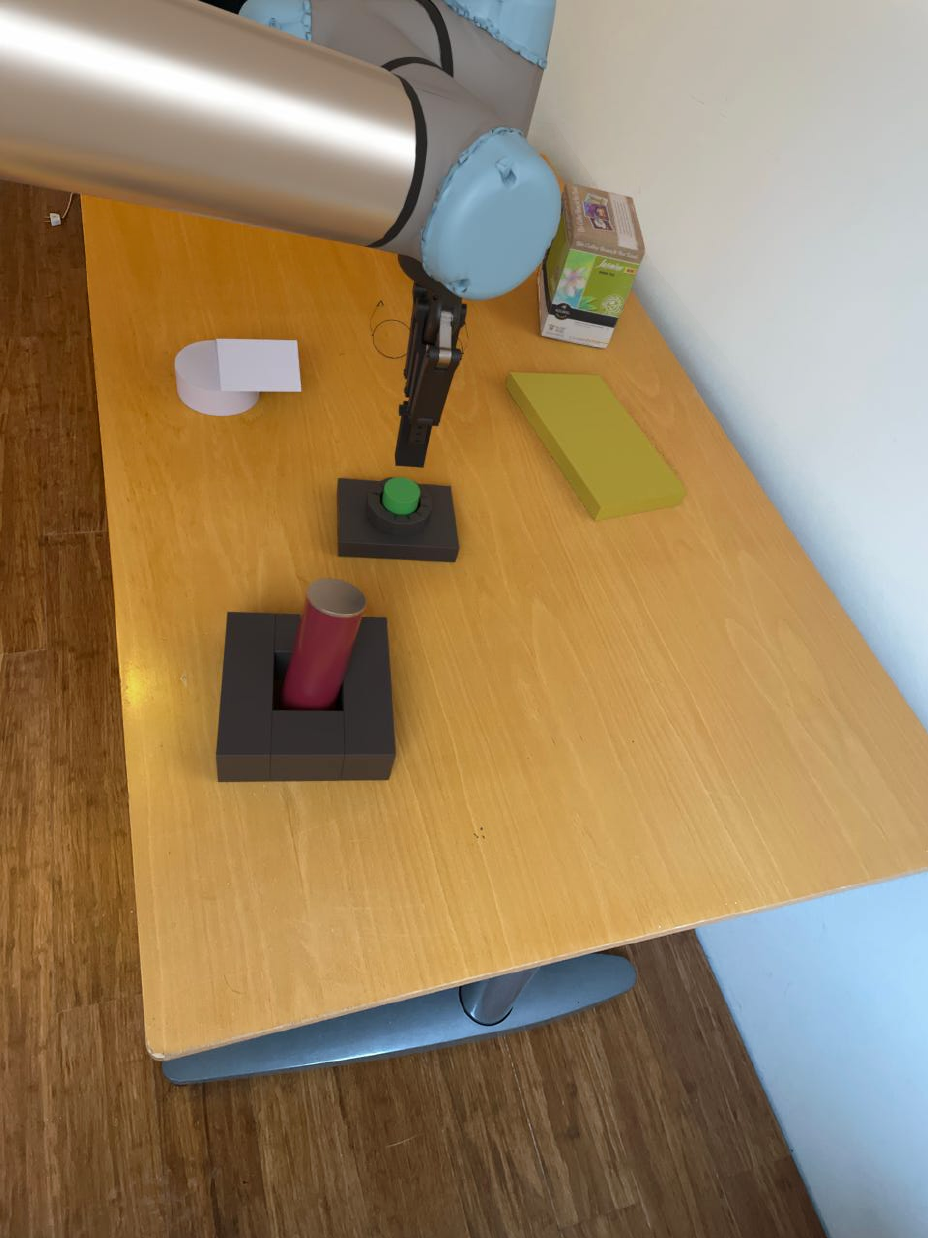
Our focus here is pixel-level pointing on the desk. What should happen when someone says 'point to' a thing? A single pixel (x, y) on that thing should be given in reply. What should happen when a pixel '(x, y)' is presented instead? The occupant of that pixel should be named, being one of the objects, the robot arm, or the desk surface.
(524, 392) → the flat olive board
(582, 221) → the tea box
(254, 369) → the wedge on round base
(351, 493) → the panel
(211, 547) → the desk surface
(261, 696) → the square peg hole block
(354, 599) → the dark red cylinder
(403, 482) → the button
